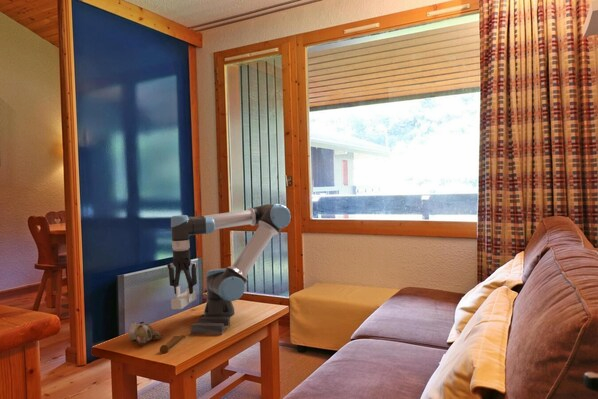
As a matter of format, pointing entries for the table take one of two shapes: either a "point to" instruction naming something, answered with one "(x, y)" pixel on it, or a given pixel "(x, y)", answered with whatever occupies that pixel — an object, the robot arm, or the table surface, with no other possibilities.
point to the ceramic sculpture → (142, 333)
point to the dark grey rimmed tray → (211, 325)
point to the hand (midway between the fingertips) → (184, 300)
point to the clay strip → (182, 300)
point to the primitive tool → (171, 343)
